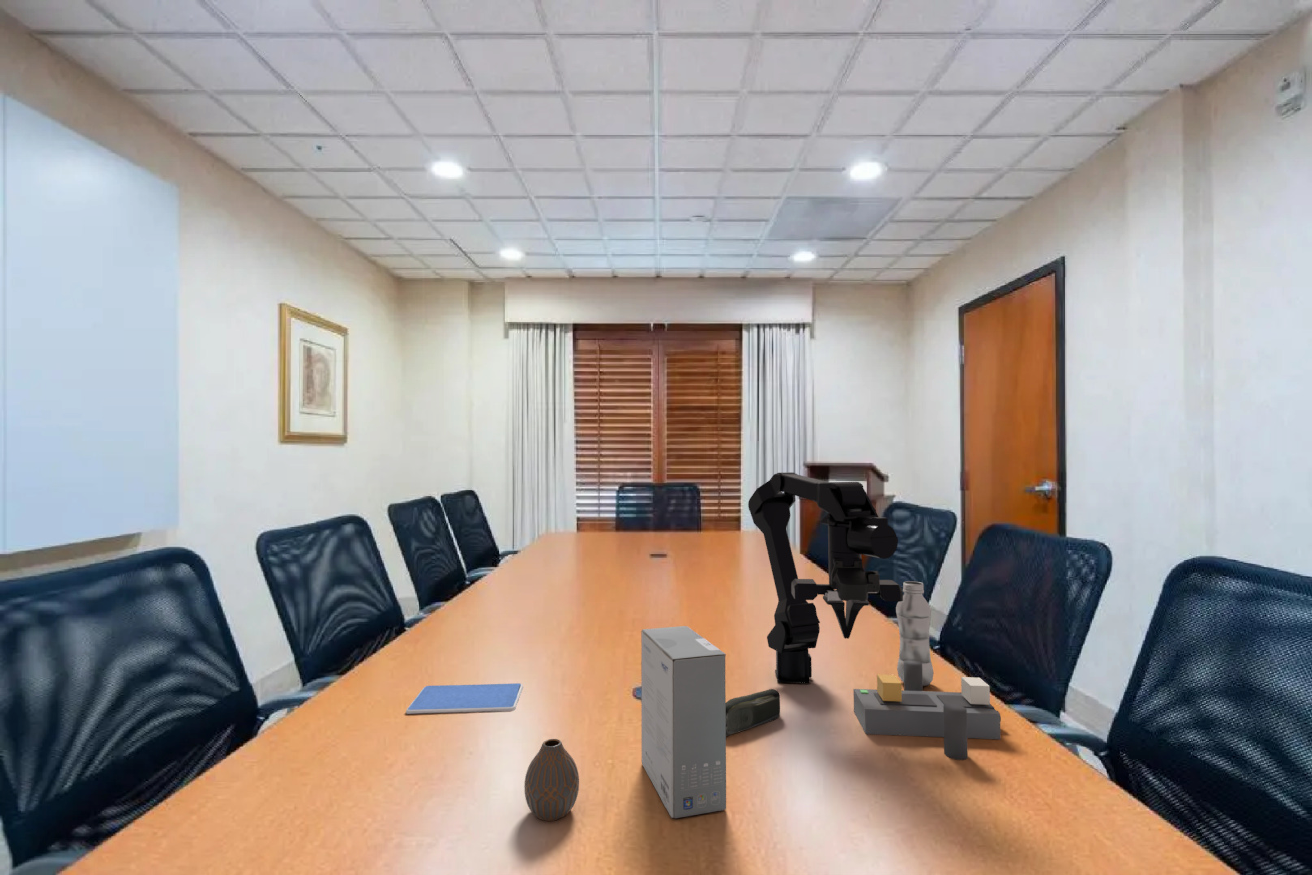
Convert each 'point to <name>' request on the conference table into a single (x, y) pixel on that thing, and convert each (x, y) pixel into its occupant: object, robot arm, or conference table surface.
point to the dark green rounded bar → (752, 710)
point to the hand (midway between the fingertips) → (846, 637)
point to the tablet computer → (466, 698)
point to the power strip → (921, 714)
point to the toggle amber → (889, 687)
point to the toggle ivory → (975, 690)
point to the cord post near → (955, 731)
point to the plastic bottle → (914, 630)
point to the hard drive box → (684, 720)
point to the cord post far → (913, 676)
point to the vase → (551, 782)
